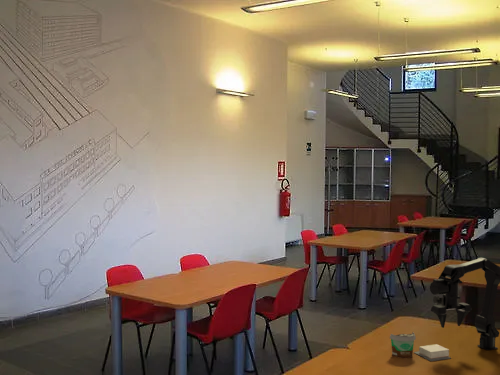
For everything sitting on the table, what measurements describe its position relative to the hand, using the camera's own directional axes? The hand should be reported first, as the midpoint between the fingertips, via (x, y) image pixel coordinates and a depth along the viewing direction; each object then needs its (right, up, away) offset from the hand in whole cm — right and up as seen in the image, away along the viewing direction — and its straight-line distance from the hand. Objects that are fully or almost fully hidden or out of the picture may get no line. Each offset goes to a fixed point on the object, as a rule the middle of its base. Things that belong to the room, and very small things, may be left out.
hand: (450, 326), depth 251 cm
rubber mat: (-10, -12, -3) cm, 16 cm away
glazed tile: (-4, -11, -1) cm, 11 cm away
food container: (-22, -13, -5) cm, 26 cm away
